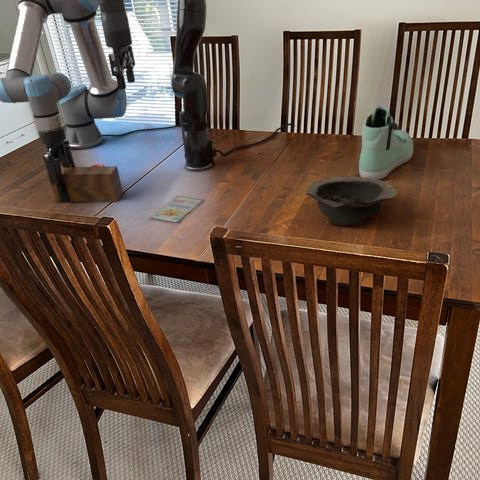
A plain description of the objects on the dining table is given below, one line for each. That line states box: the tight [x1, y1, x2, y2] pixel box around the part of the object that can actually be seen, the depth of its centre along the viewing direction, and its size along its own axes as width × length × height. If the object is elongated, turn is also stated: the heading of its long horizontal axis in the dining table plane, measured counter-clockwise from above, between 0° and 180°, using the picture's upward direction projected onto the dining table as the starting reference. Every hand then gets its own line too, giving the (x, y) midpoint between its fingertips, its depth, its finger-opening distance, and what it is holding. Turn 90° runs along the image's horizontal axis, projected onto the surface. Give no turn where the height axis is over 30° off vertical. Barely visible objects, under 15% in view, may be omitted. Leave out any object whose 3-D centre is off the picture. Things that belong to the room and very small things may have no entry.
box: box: [47, 165, 124, 203], centre depth 155 cm, size 21×6×10 cm, turn 83°
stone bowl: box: [304, 175, 398, 227], centre depth 135 cm, size 25×25×9 cm
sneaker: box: [358, 105, 414, 180], centre depth 160 cm, size 14×35×20 cm, turn 152°
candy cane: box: [89, 163, 106, 167], centre depth 174 cm, size 6×15×2 cm, turn 145°
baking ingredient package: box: [151, 196, 203, 223], centre depth 146 cm, size 9×1×15 cm
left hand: (69, 196), depth 159 cm, fingers closed on box, 6 cm apart
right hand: (127, 85), depth 146 cm, fingers open, 8 cm apart
